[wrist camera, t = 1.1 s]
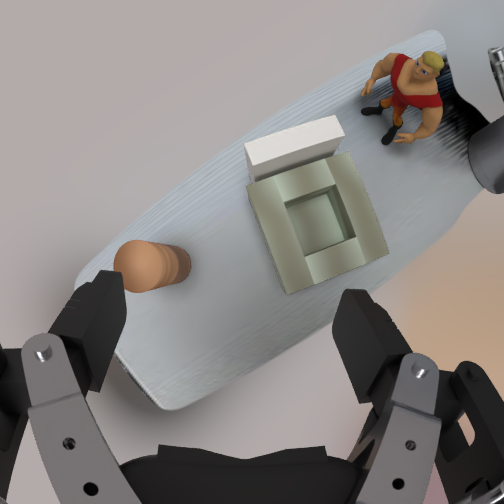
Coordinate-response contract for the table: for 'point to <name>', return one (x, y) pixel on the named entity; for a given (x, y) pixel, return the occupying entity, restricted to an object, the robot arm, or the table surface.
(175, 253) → the dowel
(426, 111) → the action figure
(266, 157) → the backstop wall
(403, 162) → the table surface
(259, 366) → the table surface
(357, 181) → the socket block
